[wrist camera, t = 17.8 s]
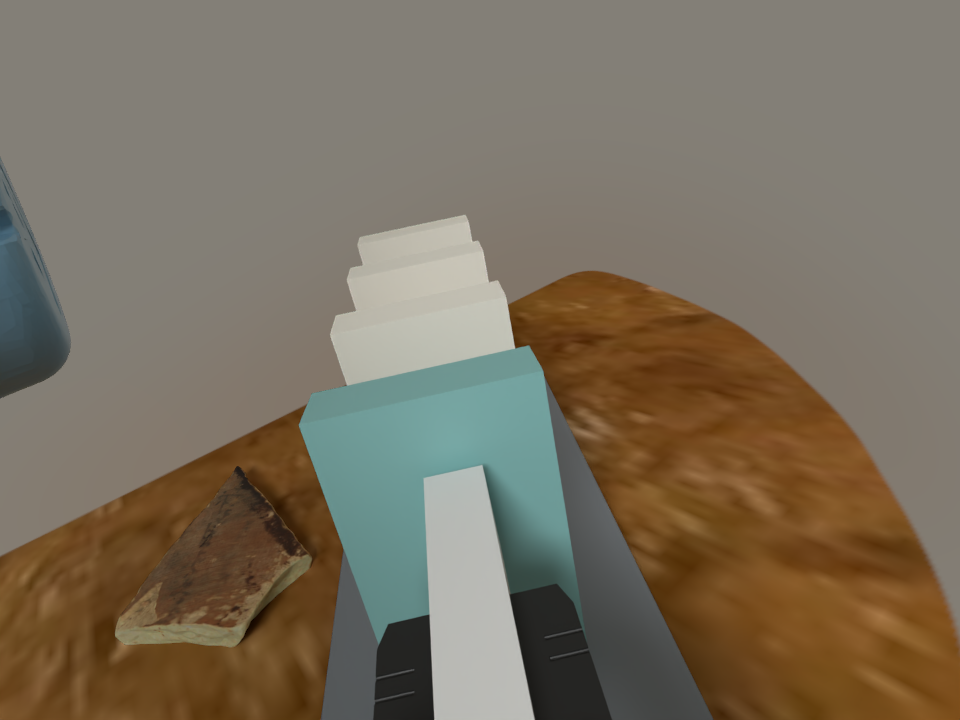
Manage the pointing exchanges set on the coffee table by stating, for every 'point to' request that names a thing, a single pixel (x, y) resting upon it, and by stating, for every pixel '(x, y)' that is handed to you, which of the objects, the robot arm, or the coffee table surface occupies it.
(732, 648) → the coffee table surface
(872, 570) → the coffee table surface
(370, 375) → the ivory domino
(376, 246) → the ivory domino
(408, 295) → the ivory domino
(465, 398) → the teal domino
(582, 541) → the slate runway
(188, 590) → the shard
